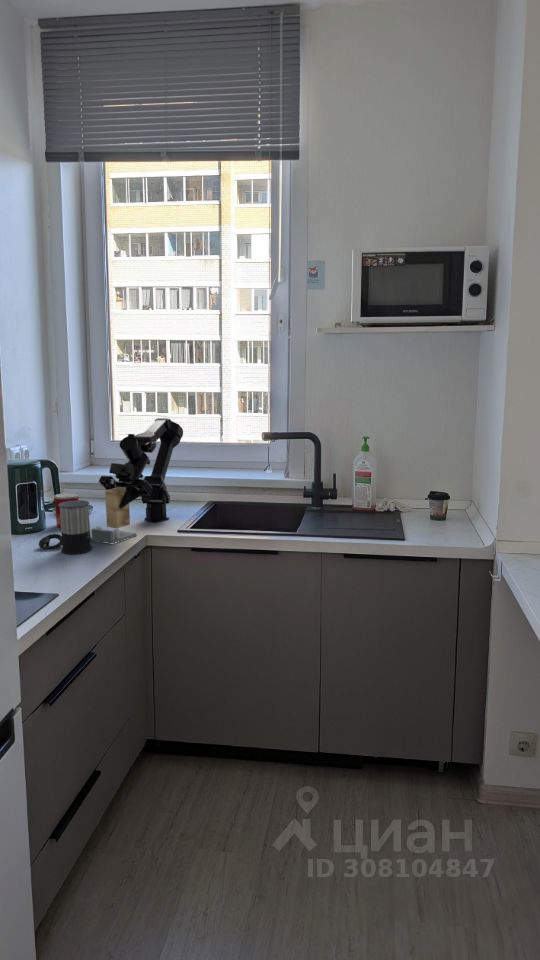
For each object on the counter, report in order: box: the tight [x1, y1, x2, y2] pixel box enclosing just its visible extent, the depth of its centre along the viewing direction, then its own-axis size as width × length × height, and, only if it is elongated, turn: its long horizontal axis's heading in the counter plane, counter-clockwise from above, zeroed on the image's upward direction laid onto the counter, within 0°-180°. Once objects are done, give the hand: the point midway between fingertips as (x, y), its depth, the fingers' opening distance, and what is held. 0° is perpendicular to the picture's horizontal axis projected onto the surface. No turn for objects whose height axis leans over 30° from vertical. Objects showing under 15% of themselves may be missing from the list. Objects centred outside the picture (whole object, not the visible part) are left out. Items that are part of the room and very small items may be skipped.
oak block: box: [104, 487, 131, 529], centre depth 242 cm, size 6×4×12 cm
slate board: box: [91, 525, 137, 543], centre depth 241 cm, size 12×9×4 cm
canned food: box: [54, 492, 79, 529], centre depth 258 cm, size 8×8×11 cm
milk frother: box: [38, 499, 93, 555], centre depth 228 cm, size 14×16×15 cm
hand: (114, 506), depth 240 cm, fingers closed on oak block, 5 cm apart
